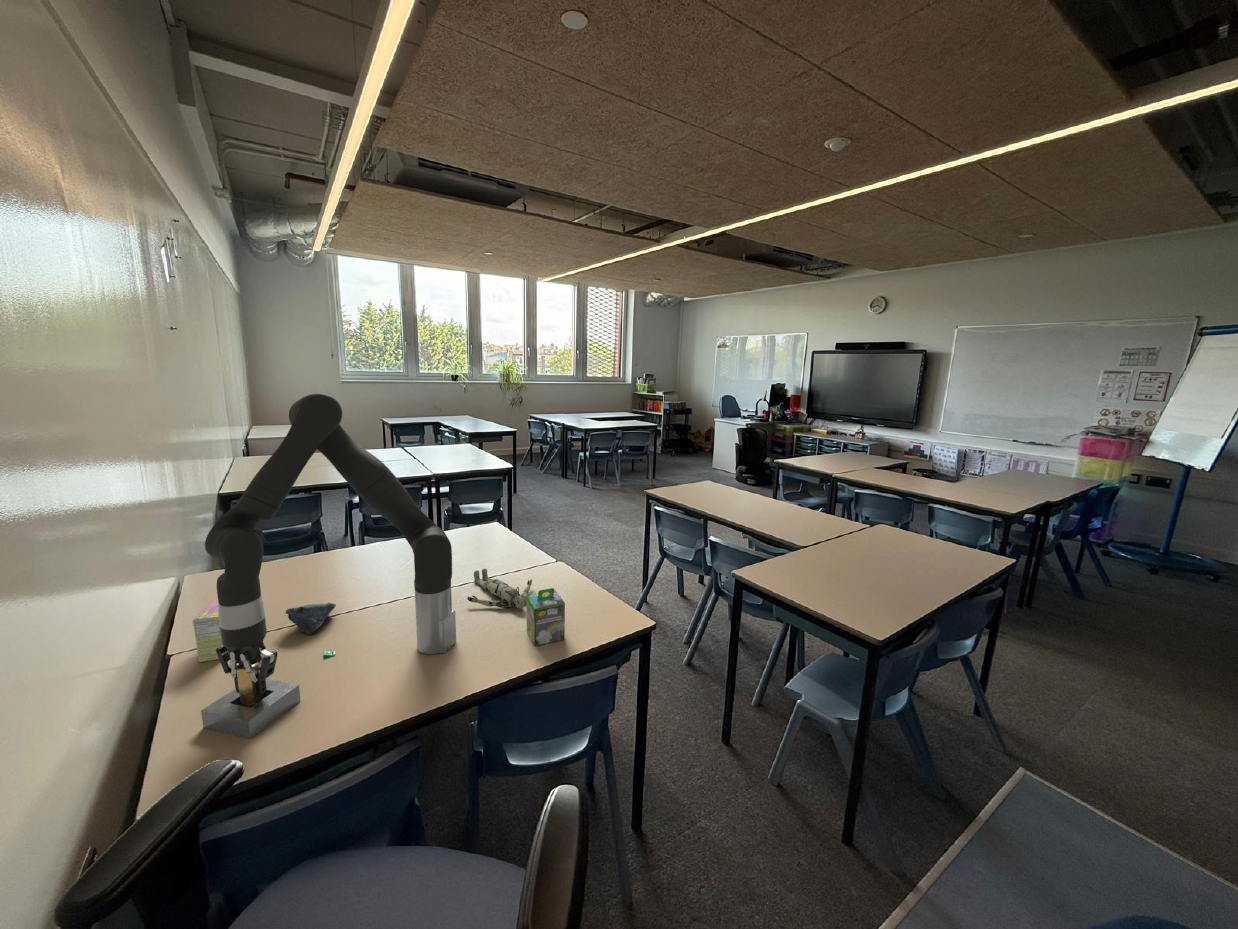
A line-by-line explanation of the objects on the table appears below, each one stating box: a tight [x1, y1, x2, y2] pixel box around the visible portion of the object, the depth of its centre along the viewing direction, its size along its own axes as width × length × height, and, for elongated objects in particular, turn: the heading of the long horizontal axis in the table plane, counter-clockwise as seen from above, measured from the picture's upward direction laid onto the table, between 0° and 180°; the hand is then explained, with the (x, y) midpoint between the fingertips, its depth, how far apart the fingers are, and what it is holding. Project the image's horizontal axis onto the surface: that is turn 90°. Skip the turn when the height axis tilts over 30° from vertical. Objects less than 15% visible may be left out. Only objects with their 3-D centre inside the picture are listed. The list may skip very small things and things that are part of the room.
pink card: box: [323, 649, 336, 659], centre depth 128 cm, size 3×3×1 cm
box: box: [192, 600, 222, 663], centre depth 127 cm, size 10×6×12 cm, turn 21°
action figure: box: [466, 568, 533, 609], centre depth 164 cm, size 24×6×30 cm
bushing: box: [236, 662, 264, 706], centre depth 104 cm, size 4×4×8 cm
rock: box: [285, 602, 337, 635], centre depth 142 cm, size 16×8×10 cm
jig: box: [200, 677, 301, 739], centre depth 105 cm, size 12×12×4 cm
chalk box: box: [525, 587, 566, 647], centre depth 139 cm, size 9×9×15 cm
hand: (251, 692), depth 105 cm, fingers closed on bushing, 4 cm apart
